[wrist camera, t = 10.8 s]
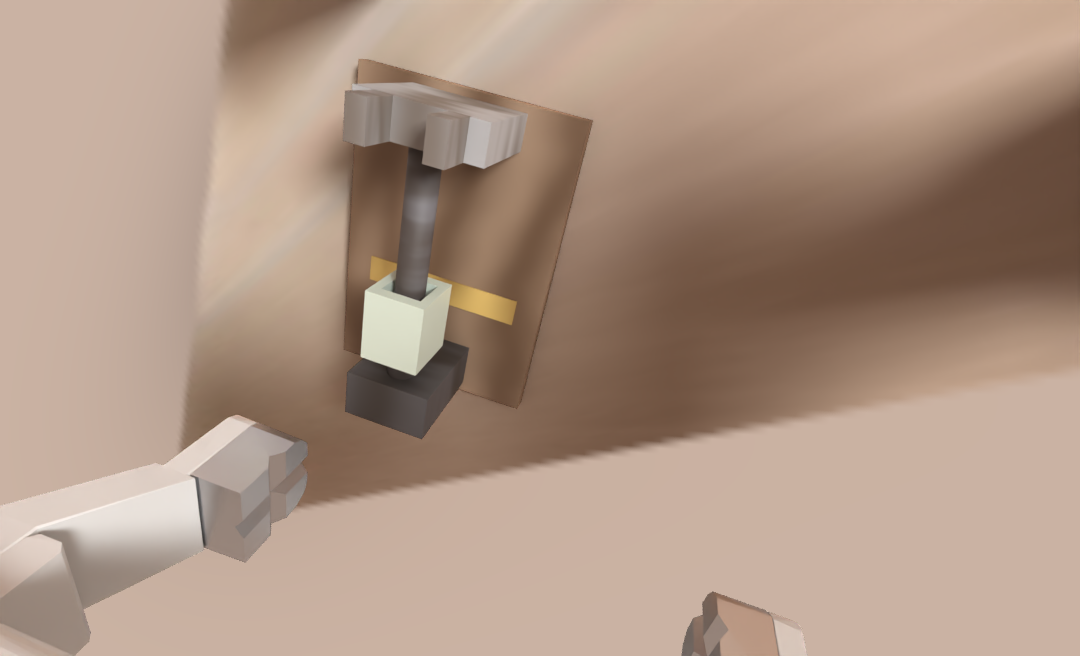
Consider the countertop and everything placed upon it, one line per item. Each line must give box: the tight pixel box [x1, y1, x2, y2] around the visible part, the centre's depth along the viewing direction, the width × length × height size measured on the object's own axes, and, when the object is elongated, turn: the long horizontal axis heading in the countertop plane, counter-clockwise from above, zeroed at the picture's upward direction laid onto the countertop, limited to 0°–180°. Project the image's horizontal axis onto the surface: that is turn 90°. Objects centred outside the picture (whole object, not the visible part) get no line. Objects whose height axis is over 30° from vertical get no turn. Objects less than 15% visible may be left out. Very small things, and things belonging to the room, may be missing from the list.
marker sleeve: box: [361, 269, 452, 376], centre depth 35 cm, size 4×5×4 cm
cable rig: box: [343, 59, 593, 439], centre depth 35 cm, size 16×23×11 cm
